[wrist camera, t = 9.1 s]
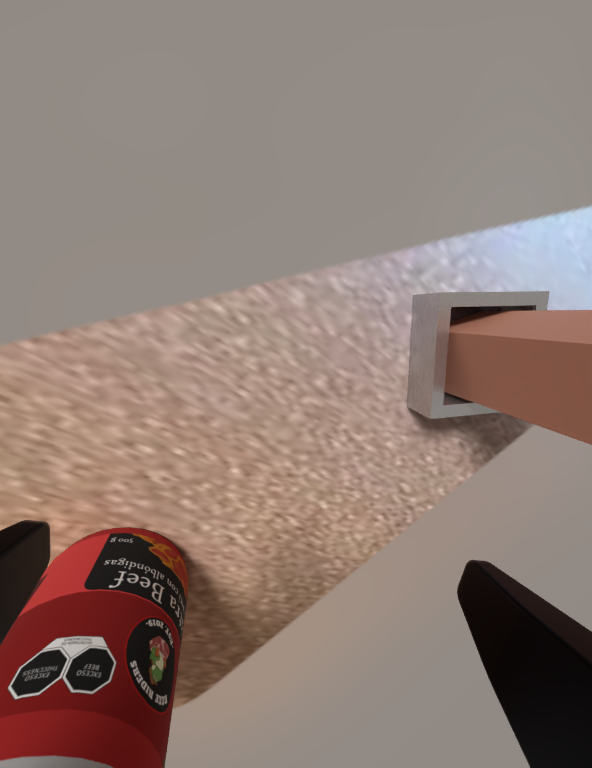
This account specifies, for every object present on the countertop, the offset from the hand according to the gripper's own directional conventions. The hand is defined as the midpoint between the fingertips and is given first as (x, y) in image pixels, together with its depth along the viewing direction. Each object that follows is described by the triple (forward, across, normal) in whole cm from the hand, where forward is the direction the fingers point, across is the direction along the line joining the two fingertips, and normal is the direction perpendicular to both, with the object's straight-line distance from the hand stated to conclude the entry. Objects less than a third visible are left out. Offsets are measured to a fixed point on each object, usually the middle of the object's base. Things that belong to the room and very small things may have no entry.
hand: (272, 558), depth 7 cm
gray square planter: (+14, -12, -4) cm, 19 cm away
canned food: (+11, +7, +12) cm, 18 cm away
